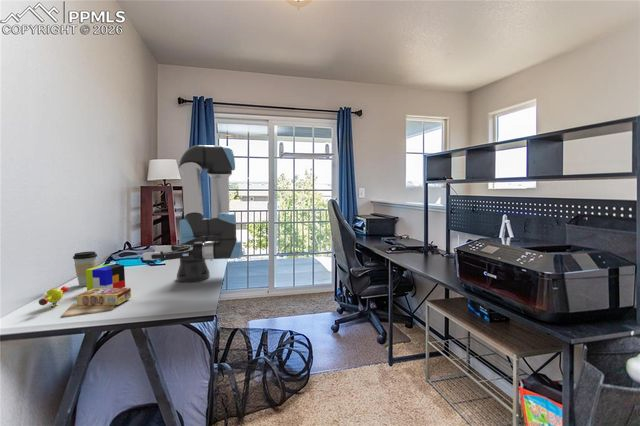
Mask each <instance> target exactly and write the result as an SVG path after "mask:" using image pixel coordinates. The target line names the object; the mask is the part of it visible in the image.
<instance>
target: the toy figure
mask: <svg viewBox="0 0 640 426" xmlns="http://www.w3.org/2000/svg"><path fill="white" fill-rule="evenodd" d="M68 291H69V287H67V286H62V287H60V288H50V289H49V290H47V291H46V292H44V293H43V294H42V295H43V297H44V298H43V297H42V298H40V299H39V301H38V305H40V306H45V305H47V304H48V303H51V304H52V305H51V306H50V308H56V307H57V306H58V302H60V301H61V300H62V299H63V298H64V297H63V296H64V293H67V292H68Z"/></svg>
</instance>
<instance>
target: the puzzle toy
mask: <svg viewBox="0 0 640 426" xmlns="http://www.w3.org/2000/svg"><path fill="white" fill-rule="evenodd" d="M125 274H126V273H125V265H124V264H102V265H98V266H96V267H94V268H90V269H86V283H87V286H86V291H89V290H91V289H103V288H126V278H125Z"/></svg>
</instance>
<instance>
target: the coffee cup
mask: <svg viewBox="0 0 640 426" xmlns="http://www.w3.org/2000/svg"><path fill="white" fill-rule="evenodd" d="M97 257H98V254H97V253H96V251H92V250H91V251H82V252H75V253H74V255H73V256H72V259H73V261H74V268H75V273H76V276H77V281H78V286H79V287H87V283H86V269H90V268H94V267H97V259H96V258H97Z"/></svg>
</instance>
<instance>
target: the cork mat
mask: <svg viewBox="0 0 640 426" xmlns="http://www.w3.org/2000/svg"><path fill="white" fill-rule="evenodd" d="M115 307H116V305H87V306H77V303H71V305H70V306H69V307H68V308H67V309H66V310H65V311H64V312H63V313H62V315H61V318H67V317H74V316H81V315H88V314H94V313H95V314H96V313H102V312H110V311H114V309H115Z"/></svg>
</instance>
